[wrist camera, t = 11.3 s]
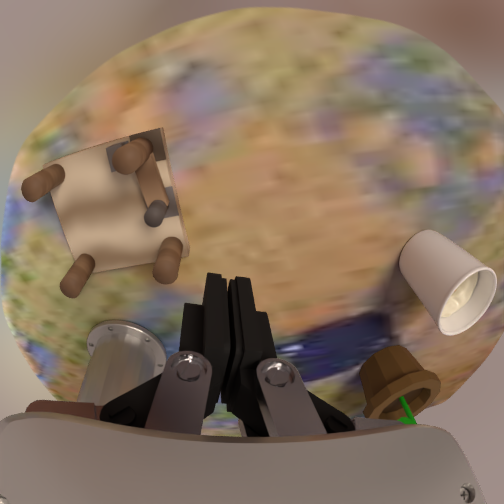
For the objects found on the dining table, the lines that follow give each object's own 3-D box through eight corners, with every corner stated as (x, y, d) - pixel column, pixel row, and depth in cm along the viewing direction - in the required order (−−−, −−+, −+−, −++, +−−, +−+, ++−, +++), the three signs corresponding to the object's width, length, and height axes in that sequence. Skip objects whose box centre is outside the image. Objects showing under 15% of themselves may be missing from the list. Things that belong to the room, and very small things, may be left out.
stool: (190, 247, 35) (185, 284, 28) (86, 266, 35) (64, 301, 28) (163, 126, 28) (147, 134, 22) (50, 160, 28) (15, 178, 21)
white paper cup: (407, 219, 36) (462, 265, 26) (455, 228, 38) (507, 270, 27) (384, 282, 41) (425, 338, 30) (432, 284, 42) (473, 332, 32)
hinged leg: (174, 208, 30) (165, 231, 26) (152, 215, 30) (141, 238, 26) (149, 134, 26) (134, 141, 22) (127, 142, 27) (108, 152, 22)
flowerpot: (335, 388, 52) (382, 531, 25) (375, 333, 45) (455, 494, 19) (390, 388, 55) (442, 506, 29) (429, 339, 49) (505, 464, 22)
